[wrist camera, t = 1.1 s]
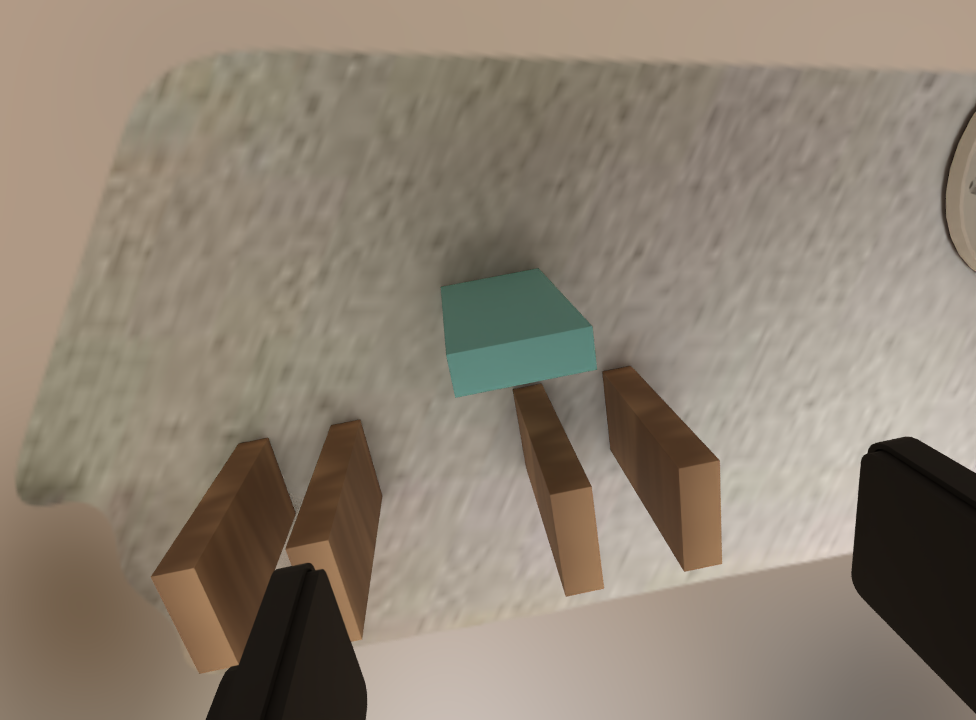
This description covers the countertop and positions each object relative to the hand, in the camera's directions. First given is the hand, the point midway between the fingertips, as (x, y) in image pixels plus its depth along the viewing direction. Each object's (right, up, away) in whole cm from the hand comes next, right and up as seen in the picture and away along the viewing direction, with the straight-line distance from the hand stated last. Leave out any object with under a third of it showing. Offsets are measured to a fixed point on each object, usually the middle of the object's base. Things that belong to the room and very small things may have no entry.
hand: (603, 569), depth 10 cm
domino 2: (-9, -2, +21) cm, 23 cm away
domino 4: (+1, 0, +22) cm, 22 cm away
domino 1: (-14, -3, +21) cm, 26 cm away
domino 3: (-2, +7, +19) cm, 20 cm away
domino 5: (+5, +1, +22) cm, 22 cm away
